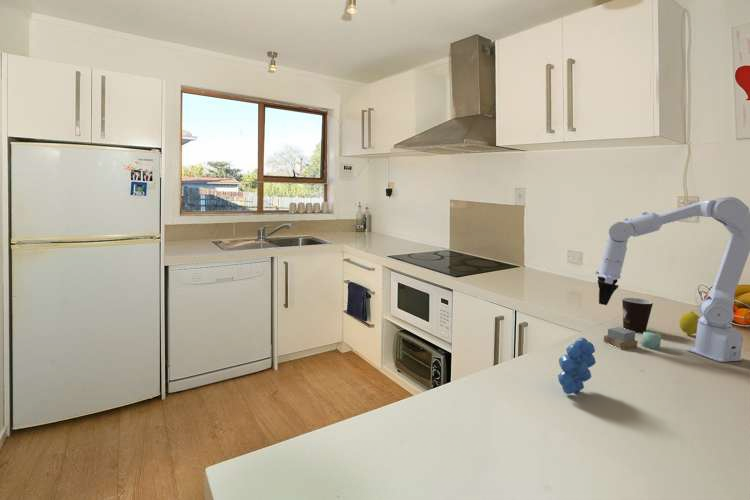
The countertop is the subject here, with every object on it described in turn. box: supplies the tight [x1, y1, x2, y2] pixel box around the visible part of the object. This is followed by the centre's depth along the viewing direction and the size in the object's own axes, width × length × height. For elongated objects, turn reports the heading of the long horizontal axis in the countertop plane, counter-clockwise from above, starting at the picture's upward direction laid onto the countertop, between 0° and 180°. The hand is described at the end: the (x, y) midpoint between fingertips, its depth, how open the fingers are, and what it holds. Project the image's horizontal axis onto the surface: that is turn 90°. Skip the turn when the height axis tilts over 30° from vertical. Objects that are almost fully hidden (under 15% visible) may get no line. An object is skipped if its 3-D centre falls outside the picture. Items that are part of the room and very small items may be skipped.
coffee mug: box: [621, 297, 654, 334], centre depth 135 cm, size 12×9×10 cm
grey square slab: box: [607, 326, 636, 342], centre depth 119 cm, size 5×5×2 cm
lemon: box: [678, 311, 701, 336], centre depth 130 cm, size 6×6×8 cm
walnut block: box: [603, 334, 638, 349], centre depth 119 cm, size 6×6×2 cm
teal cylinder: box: [641, 331, 662, 351], centre depth 118 cm, size 4×4×4 cm
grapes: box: [557, 337, 596, 395], centre depth 88 cm, size 12×7×12 cm, turn 123°
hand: (602, 301), depth 127 cm, fingers open, 7 cm apart
